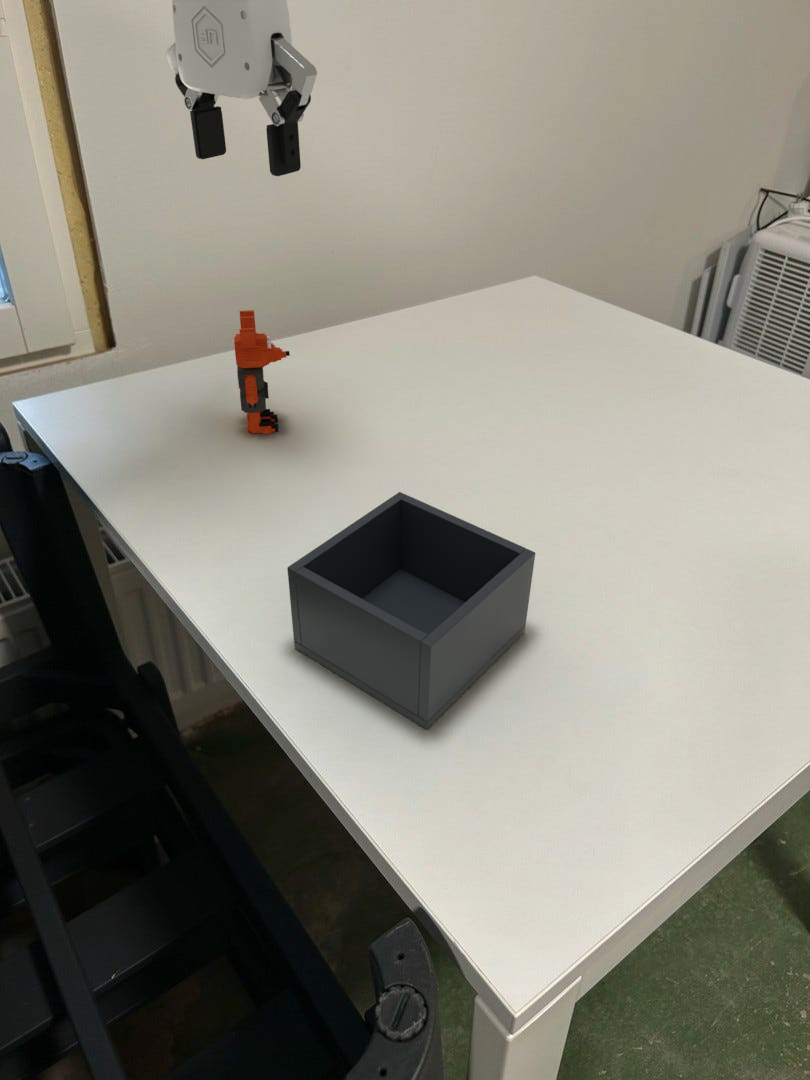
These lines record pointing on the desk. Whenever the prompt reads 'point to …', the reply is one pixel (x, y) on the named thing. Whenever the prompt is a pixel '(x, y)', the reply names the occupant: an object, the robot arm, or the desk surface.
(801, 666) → the desk surface
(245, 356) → the toy animal
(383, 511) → the bin
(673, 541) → the desk surface
